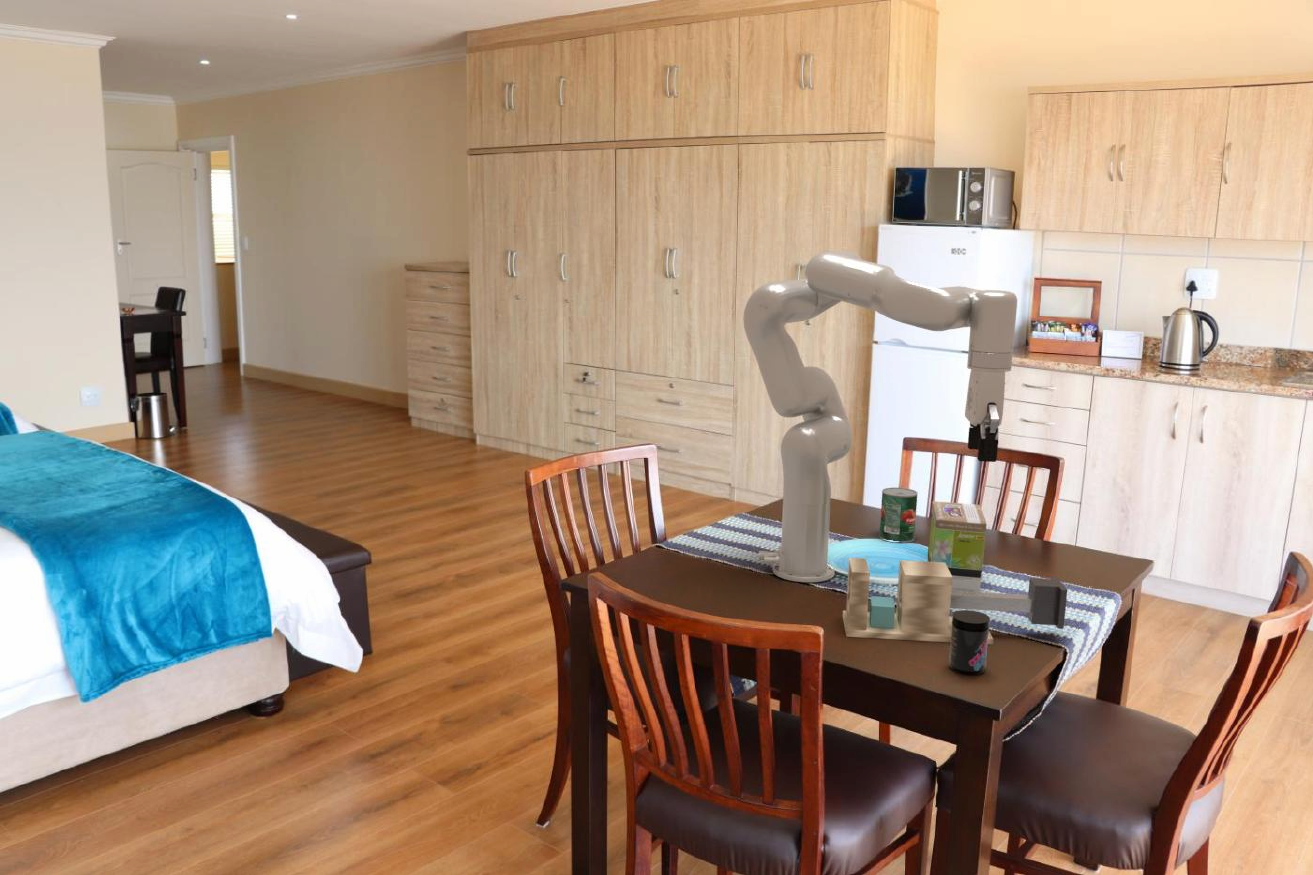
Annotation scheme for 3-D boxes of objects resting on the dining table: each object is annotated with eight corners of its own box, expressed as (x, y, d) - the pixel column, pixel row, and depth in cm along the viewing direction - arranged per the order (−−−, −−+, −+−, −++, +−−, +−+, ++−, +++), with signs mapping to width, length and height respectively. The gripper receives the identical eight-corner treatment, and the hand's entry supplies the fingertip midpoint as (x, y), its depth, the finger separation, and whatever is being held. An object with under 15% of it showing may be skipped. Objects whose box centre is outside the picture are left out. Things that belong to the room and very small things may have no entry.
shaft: (912, 620, 188) (915, 582, 186) (907, 606, 194) (910, 569, 193) (1063, 628, 185) (1067, 590, 184) (1053, 614, 192) (1056, 576, 190)
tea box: (981, 595, 210) (987, 522, 206) (928, 591, 211) (933, 518, 208) (975, 571, 224) (980, 502, 221) (925, 567, 226) (930, 499, 223)
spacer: (893, 629, 189) (870, 627, 190) (891, 618, 194) (869, 617, 194) (894, 607, 188) (871, 605, 189) (893, 597, 193) (870, 596, 194)
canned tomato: (878, 532, 250) (881, 486, 248) (912, 534, 249) (915, 488, 247) (880, 542, 242) (883, 495, 240) (916, 544, 241) (919, 496, 239)
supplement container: (962, 678, 172) (967, 625, 170) (941, 664, 177) (945, 612, 175) (993, 673, 174) (997, 620, 172) (970, 659, 179) (974, 608, 177)
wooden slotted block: (846, 636, 188) (849, 573, 186) (842, 615, 198) (845, 555, 195) (992, 644, 185) (998, 581, 183) (981, 623, 195) (986, 562, 193)
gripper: (959, 353, 199) (952, 444, 203) (977, 367, 182) (968, 465, 186) (1001, 355, 198) (993, 445, 202) (1022, 368, 182) (1013, 467, 185)
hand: (981, 455), depth 194 cm, fingers open, 9 cm apart
